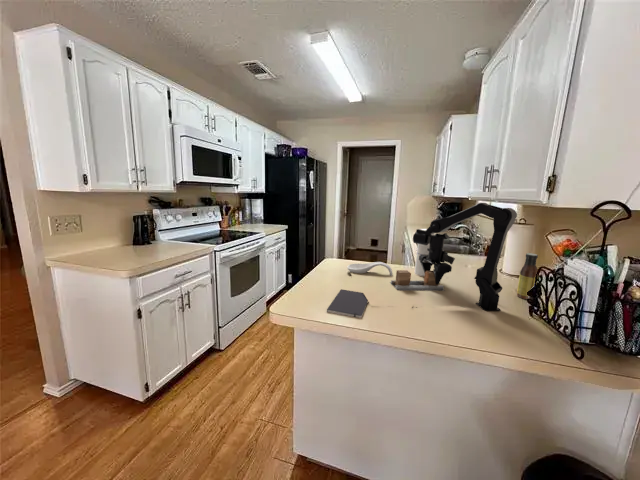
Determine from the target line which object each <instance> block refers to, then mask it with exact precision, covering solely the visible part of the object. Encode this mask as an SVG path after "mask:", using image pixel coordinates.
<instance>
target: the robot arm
mask: <svg viewBox="0 0 640 480" xmlns="http://www.w3.org/2000/svg"><path fill="white" fill-rule="evenodd" d="M479 215H483V216H484V215H485V216H486V217H488V218H491V219H493V233H492V237H491V241H490V244H489V247H488V248H489V249H488V251H487V255H486V257H485V261H484V264H483V266H481V267H479V268H477V269H476V275H475V276H474V278H473V279H474V280H475V285H476V287H477V288H478V290H479V297H478V302H475V305H476V306H477V307H479V308H481V309H482V310H484V311H486V312H492V311H493V312H499V311H500V312H501V310H502V309H501V308H499V307H498V306H499V299H500V295H499V293H500V292H501V291H502V290H503V287H502V285H501V284H500V282H498V275H499V273H498V265H499V262H500V258H501V256H502V255H501V254H502V252H503V248H504V246H505V241H506V238H507V236H508V235H507V234H508V232H509V231H510V229H512V227H513V224H514V223H515V221H516V219H517V217H518V213H517V212H516V210H515V209H514V208H511V207H499V206H496V205H493V204H489V203H486V202H477V204H475V205H473V206H470V207H469V208H466V209H464V210H462V211H459V212H457V213H455V214H452V215H450V216H447V217H441V218H438V219H437V218H436V219H434V220H431V222H430V225H429V227H427V228H426V229H427V230H426V231H425V230H421V229H422V228H417V229H416V230H415V233H414V234H413V236H412V242H413V243H414V244H417V245H418V244H422V245H428V244H429V243H430V247H429V248H427V251H429V255H427V254H421V255H420V256H419V260H420V263H421V265H422V267H423V270H424V273H425V272H426V271H431V269H432V266H433V270H432V271H434V277H435V283H436V284H439V285H440V282H441V280H442V278H443V277H444V275H445V274H447V273H451V272H452V269H453V267H452V265H453V264H454V262H455V260H456V258H455V257H454V256H451V255H449V254H448V252H447V251H445V250H444V245H445V240H449V239H450V238H451V237H450V236H449V235H448V234H447V232H446V231H448V230H449V229H451V228H452V227H454V226H455V225H457V224H459V223H462V222H464V221H468V220H469V219H471V218H473V217H477V216H479ZM443 232H444V233H443ZM433 233H434V235H431V234H433Z"/></svg>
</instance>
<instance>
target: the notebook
mask: <svg viewBox="0 0 640 480" xmlns="http://www.w3.org/2000/svg"><path fill="white" fill-rule="evenodd" d="M368 301H369V299H368V298H367V297H366V295H365V294H364V292H361V291H360V292H359V291H356V290H347V289H340V290H339V292H338V293H337V295H335V297H334V299H333V300H332V302H331V303H330V305H329V306H328V307H327V308H326V312H327V313H333V314H338V315H344V316H348V317H354V318H361V319H362V317H363V315H364V313H365V310H366V307H367V304H368Z"/></svg>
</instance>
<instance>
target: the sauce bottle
mask: <svg viewBox="0 0 640 480" xmlns="http://www.w3.org/2000/svg"><path fill="white" fill-rule="evenodd" d="M538 256H539V255H538V254H536V253H531V252H529V253H528V252H527V253H526V254H525V261H524V265H523V266H522V268H521V269H520V271H519V276H518V277H519V278H518V284H517V288H516V289H517V290H516V294H517V297H518V298H520V299H523V300H527V299H528V295H527V292H528V291H529V290H530V289H531V288H532V287H533V286H534V283H535V277H536V274H537V271H538V272H539V270H538V266H537V259H538V258H539V257H538ZM537 275H538V274H537Z"/></svg>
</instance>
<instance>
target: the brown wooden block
mask: <svg viewBox="0 0 640 480" xmlns="http://www.w3.org/2000/svg"><path fill="white" fill-rule="evenodd" d="M423 278H424V279H423V281H424V285H440V283H439V284H436V283H435V277H434V271H433V270H430V271H426V272H425V276H423Z"/></svg>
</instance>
